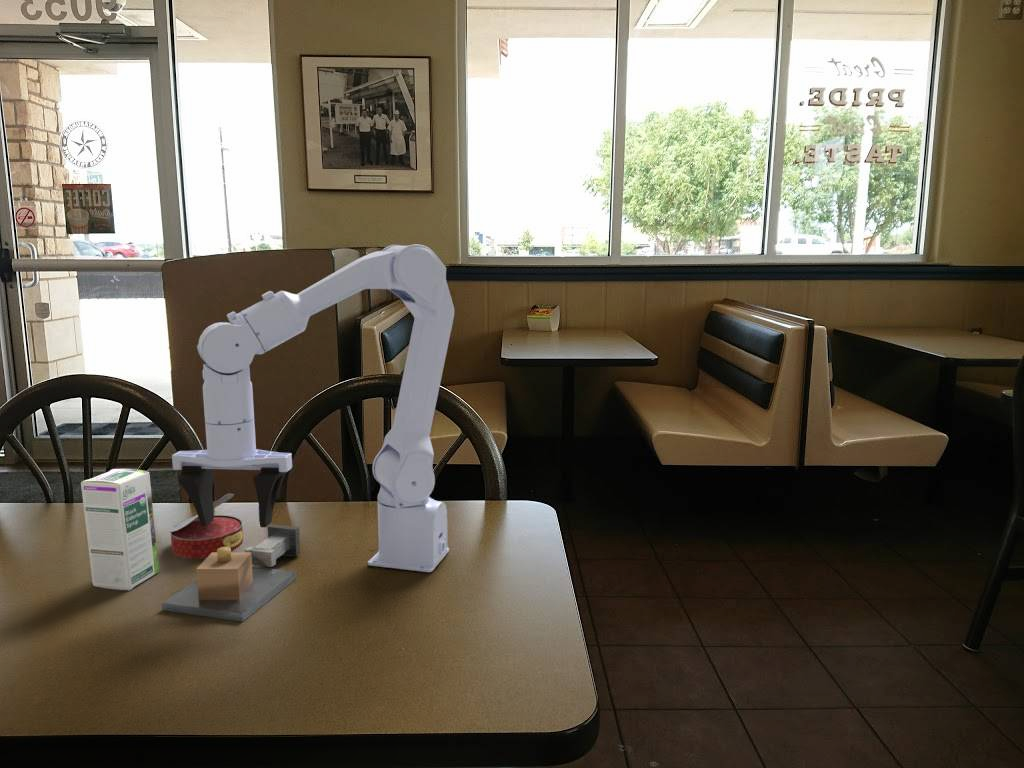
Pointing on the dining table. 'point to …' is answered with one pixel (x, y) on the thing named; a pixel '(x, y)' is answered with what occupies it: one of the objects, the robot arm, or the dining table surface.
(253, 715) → the dining table surface
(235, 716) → the dining table surface
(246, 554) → the block
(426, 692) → the dining table surface
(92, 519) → the syrup box
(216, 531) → the canned food
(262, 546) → the square end dumbbell
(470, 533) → the dining table surface
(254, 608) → the grey square baseplate
